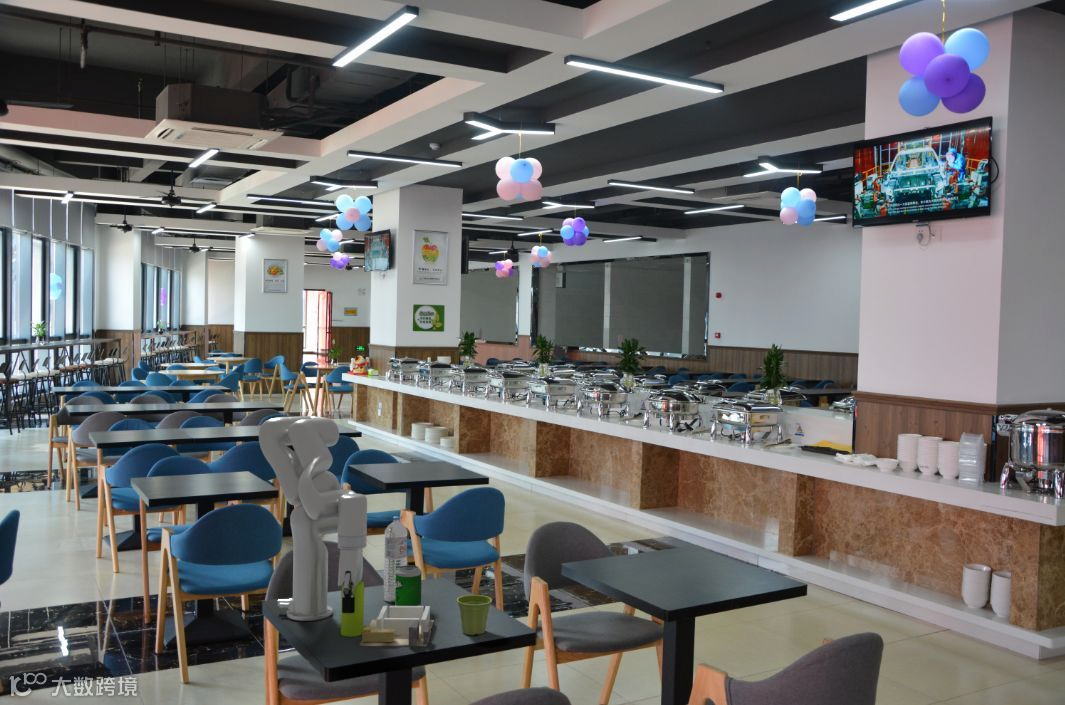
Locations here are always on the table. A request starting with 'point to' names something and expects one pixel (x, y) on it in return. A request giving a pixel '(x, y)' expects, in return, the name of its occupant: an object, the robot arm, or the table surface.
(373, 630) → the tan rectangular block
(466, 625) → the plant pot
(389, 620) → the dock
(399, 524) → the water bottle
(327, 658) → the table surface
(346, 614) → the soap dispenser
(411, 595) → the soda can
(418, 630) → the base board
